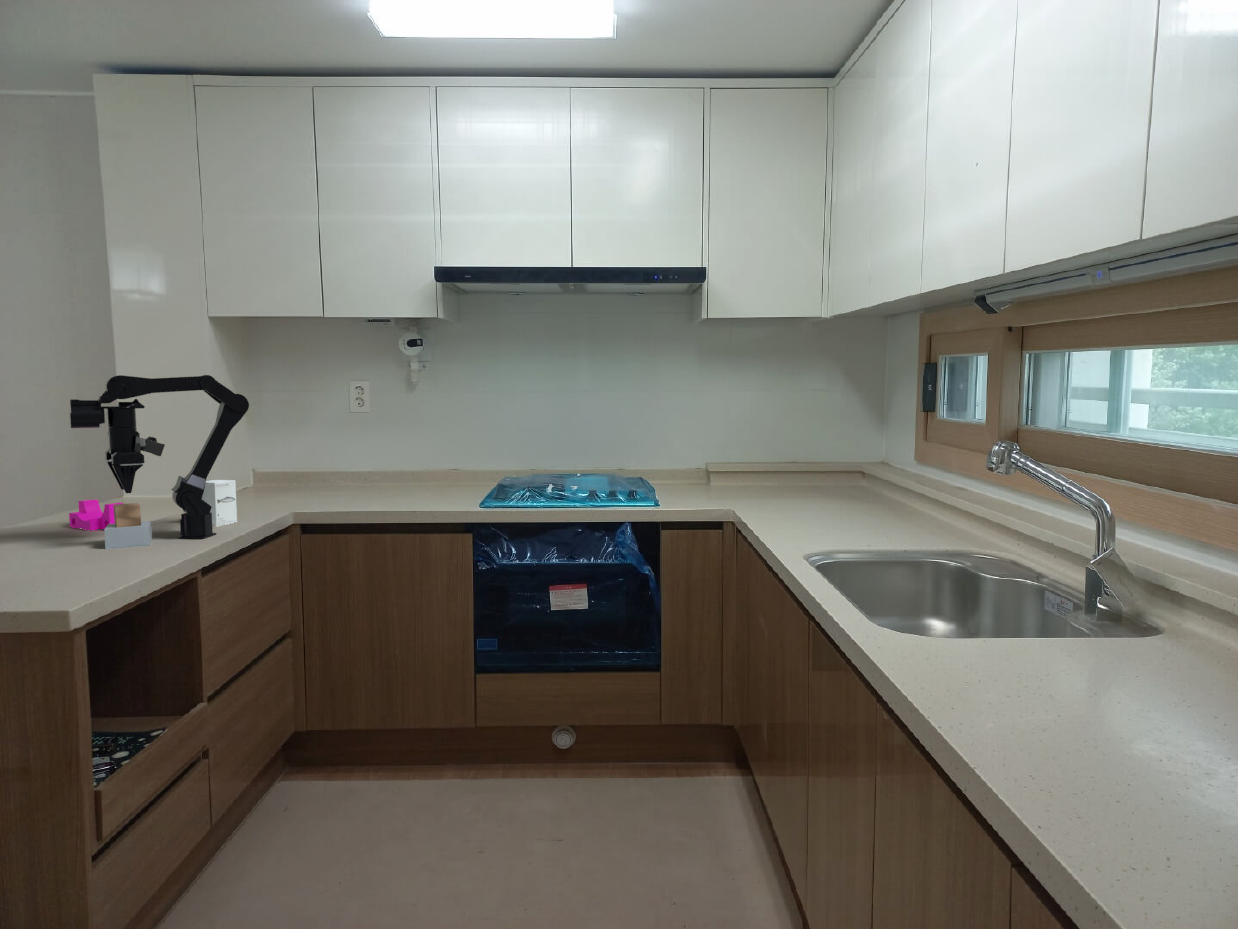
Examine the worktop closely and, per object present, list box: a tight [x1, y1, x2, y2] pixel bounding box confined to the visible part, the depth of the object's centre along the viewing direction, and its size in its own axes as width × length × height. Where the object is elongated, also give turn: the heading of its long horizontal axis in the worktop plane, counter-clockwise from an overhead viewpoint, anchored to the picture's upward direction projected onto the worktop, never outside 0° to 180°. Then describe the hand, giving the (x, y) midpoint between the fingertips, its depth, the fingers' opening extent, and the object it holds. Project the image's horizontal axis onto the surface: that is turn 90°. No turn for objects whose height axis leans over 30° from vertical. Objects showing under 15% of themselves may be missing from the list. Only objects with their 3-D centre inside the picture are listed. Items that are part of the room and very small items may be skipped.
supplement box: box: [202, 479, 238, 528], centre depth 211 cm, size 7×7×13 cm
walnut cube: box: [114, 502, 142, 528], centre depth 185 cm, size 5×5×5 cm
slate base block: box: [103, 520, 153, 550], centre depth 185 cm, size 9×9×5 cm
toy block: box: [68, 499, 125, 532], centre depth 206 cm, size 15×6×8 cm, turn 62°
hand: (126, 491), depth 185 cm, fingers open, 9 cm apart
